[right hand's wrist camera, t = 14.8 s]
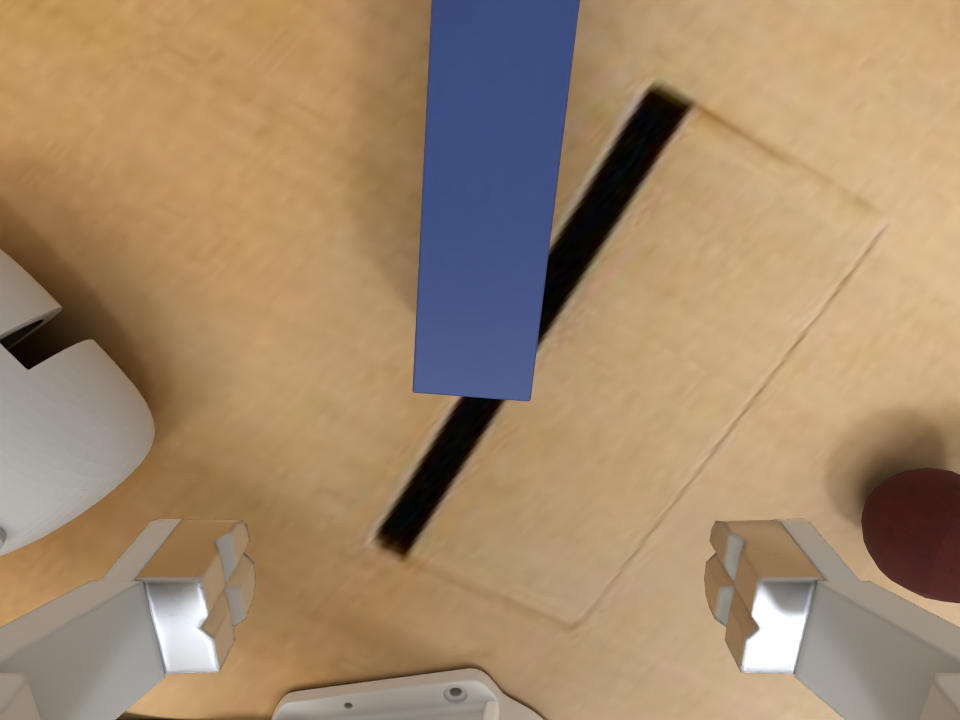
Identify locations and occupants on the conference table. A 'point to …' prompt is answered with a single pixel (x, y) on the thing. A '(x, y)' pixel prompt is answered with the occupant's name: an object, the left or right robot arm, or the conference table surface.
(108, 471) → the grey rounded piece
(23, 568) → the conference table surface
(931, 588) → the dark red ball
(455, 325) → the bar
